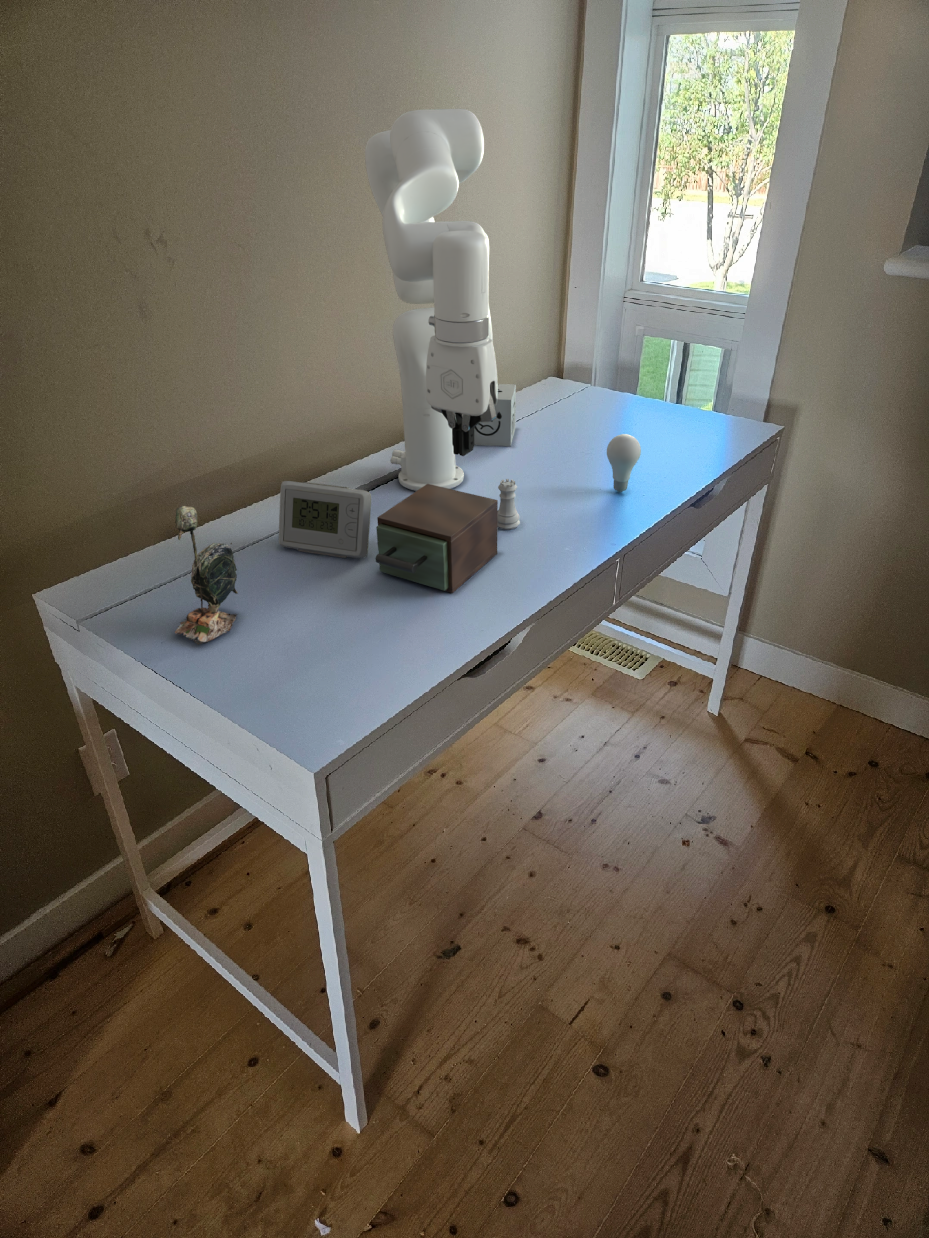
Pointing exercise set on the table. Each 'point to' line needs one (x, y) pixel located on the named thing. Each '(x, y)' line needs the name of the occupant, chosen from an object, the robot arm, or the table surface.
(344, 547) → the digital clock
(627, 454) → the lightbulb
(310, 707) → the table surface
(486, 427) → the icon cube
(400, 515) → the cabinet
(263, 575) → the table surface
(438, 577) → the drawer
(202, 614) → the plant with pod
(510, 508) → the rook chess piece
